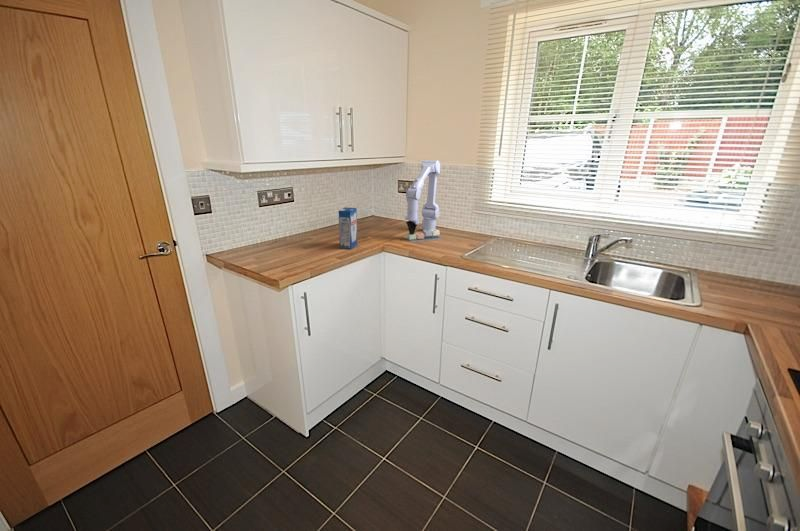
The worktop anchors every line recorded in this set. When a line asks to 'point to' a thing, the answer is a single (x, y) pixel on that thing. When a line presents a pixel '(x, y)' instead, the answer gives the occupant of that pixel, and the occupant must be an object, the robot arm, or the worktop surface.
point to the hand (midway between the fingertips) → (411, 234)
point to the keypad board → (425, 238)
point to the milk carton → (348, 228)
